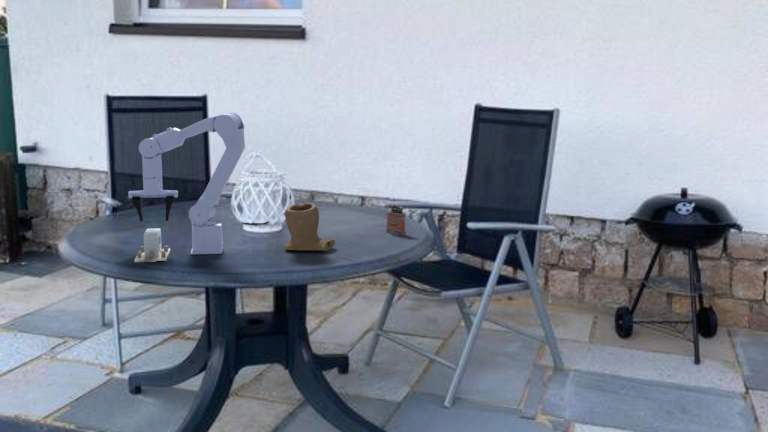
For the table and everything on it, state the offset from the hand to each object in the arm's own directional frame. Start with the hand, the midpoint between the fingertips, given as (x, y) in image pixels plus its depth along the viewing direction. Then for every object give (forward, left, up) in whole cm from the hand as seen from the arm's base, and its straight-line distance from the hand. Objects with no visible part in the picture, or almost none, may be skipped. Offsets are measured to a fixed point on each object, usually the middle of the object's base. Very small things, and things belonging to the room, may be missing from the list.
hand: (154, 220), depth 245 cm
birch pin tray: (0, +8, -9) cm, 12 cm away
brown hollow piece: (-47, +6, -10) cm, 48 cm away
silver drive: (0, +7, -9) cm, 11 cm away
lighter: (-79, -16, -10) cm, 81 cm away
